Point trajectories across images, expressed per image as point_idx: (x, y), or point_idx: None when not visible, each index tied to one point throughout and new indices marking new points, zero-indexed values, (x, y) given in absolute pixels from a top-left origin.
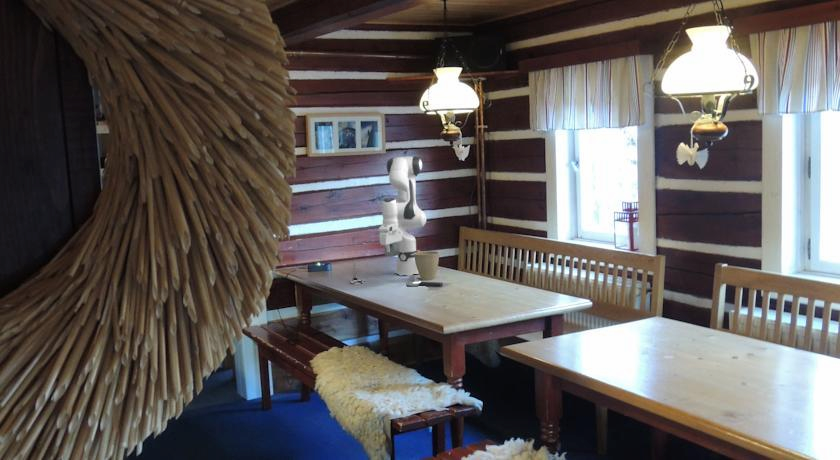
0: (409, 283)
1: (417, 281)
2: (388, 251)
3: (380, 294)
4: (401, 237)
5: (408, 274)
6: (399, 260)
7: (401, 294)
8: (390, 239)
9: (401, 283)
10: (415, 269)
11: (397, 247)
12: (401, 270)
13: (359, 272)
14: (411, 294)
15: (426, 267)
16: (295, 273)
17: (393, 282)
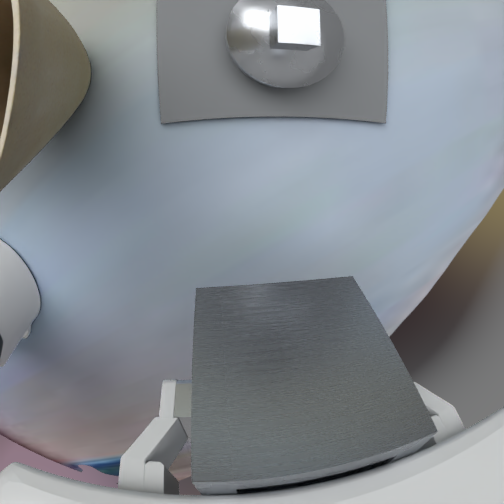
0: (342, 44)
1: (295, 3)
2: None
3: (469, 149)
4: None
5: (18, 261)
6: (3, 350)
7: (462, 52)
8: (481, 496)
9: (198, 171)
10: None
11: (264, 381)
12: (24, 305)
13: (91, 419)
14: (453, 8)
15: (68, 25)
16: (181, 478)
17: (184, 236)
